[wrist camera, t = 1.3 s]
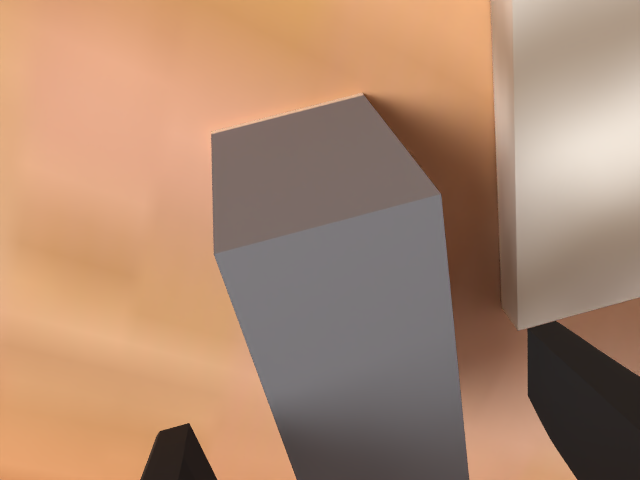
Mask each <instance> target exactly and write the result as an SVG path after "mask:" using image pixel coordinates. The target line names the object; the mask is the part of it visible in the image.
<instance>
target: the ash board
mask: <svg viewBox="0 0 640 480" xmlns="http://www.w3.org/2000/svg"><path fill="white" fill-rule="evenodd" d="M490 1H491V29H492V56H493V83H494V111H495V138H496V165H497V193H498V220H499V247H500V275H501V302H502V309H503V310H504V312H505V313H506V315H507V316H508V318H509V319H510V320H511V322H512V323H513V325H514V326H515V327H516V329H517V330H518V331H519V330H523V329H526V328H530V327H534V326H537V325H541V324H545V323H548V322H552V321H555V320H559V319H563V318H566V317H570V316H574V315H577V314H581V313H585V312H588V311H592V310H595V309H599V308H603V307H606V306H610V305H614V304H617V303H621V302H624V301H628V300H632V299H635V298H639V297H640V0H490Z"/></svg>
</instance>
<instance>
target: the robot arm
mask: <svg viewBox="0 0 640 480" xmlns="http://www.w3.org/2000/svg"><path fill="white" fill-rule="evenodd" d="M528 397H529V399H530V401H531V403H532V405H533V407H534V409H535V411H536V413H537V415H538V417H539V419H540V421H541V422H542V424H543V426H544V428H545V430H546V432H547V434H548V436H549V437H550V439H551V441H552V442H553V444H554V445H555V447H556V449H557V450H558V452H559V453H560V455H561V456H562V458H563V459H564V461H565V462H566V463H567V465H568V466H569V468H570V469H571V471H572V472H573V474H574V475H575V477H576V478H577V480H640V377H639V376H638V375H636V374H635V373H633V372H631V371H630V370H628V369H627V368H625V367H624V366H622V365H621V364H619V363H618V362H616V361H615V360H613V359H612V358H610V357H609V356H607V355H606V354H604V353H603V352H601V351H600V350H598V349H597V348H595V347H594V346H592V345H591V344H589V343H588V342H586V341H585V340H583V339H582V338H581V337H579V336H578V335H576V334H575V333H573V332H572V331H570V330H569V329H567V328H566V327H564V326H563V325H561V324H560V323H558V322H557V321H553V322H550V323H546V324H543V325H539V326H535V327H532V328H528ZM140 480H217V478H216V476H215V474H214V472H213V470H212V468H211V466H210V464H209V462H208V460H207V458H206V456H205V454H204V452H203V450H202V448H201V446H200V444H199V442H198V440H197V438H196V436H195V434H194V432H193V430H192V428H191V426H190V424H189V423H188V424H184V425H180V426H177V427H173V428H170V429H166V430H163V431H160V432H159V433H158V435H157V436H156V439H155V442H154V445H153V447H152V450H151V453H150V456H149V458H148V461H147V464H146V466H145V469H144V472H143V474H142V477H141V479H140Z"/></svg>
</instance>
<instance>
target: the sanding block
mask: <svg viewBox="0 0 640 480" xmlns="http://www.w3.org/2000/svg"><path fill="white" fill-rule="evenodd" d="M211 143H212V191H213V238H214V256H215V259H216V261H217V264H218V267H219V270H220V272H221V275H222V278H223V280H224V283H225V286H226V289H227V291H228V294H229V297H230V299H231V302H232V305H233V308H234V310H235V313H236V316H237V318H238V321H239V324H240V327H241V329H242V332H243V335H244V337H245V340H246V343H247V346H248V348H249V351H250V354H251V357H252V359H253V362H254V365H255V367H256V370H257V373H258V376H259V378H260V381H261V384H262V386H263V389H264V392H265V395H266V397H267V400H268V403H269V405H270V408H271V411H272V414H273V416H274V419H275V422H276V424H277V427H278V430H279V433H280V435H281V438H282V441H283V444H284V446H285V449H286V452H287V454H288V457H289V460H290V463H291V465H292V468H293V471H294V473H295V476H296V479H297V480H469V473H468V463H467V453H466V443H465V432H464V422H463V412H462V402H461V392H460V381H459V371H458V361H457V351H456V341H455V330H454V320H453V310H452V300H451V290H450V279H449V269H448V259H447V249H446V239H445V228H444V218H443V208H442V198H441V193H440V192H439V191H438V189H437V188H436V187H435V185H434V184H433V183H432V182H431V180H430V179H429V178H428V177H427V175H426V174H425V173H424V171H423V170H422V169H421V168H420V166H419V165H418V164H417V162H416V161H415V160H414V159H413V157H412V156H411V155H410V153H409V152H408V151H407V150H406V148H405V147H404V146H403V144H402V143H401V142H400V141H399V139H398V138H397V137H396V135H395V134H394V133H393V132H392V130H391V129H390V128H389V127H388V125H387V124H386V123H385V121H384V120H383V119H382V118H381V116H380V115H379V114H378V112H377V111H376V110H375V109H374V107H373V106H372V105H371V103H370V102H369V101H368V100H367V98H366V97H365V96H364V94H363V93H359V94H355V95H352V96H348V97H344V98H340V99H336V100H332V101H328V102H324V103H320V104H317V105H313V106H309V107H305V108H301V109H297V110H293V111H289V112H285V113H281V114H278V115H274V116H270V117H266V118H262V119H258V120H254V121H250V122H246V123H243V124H239V125H235V126H231V127H227V128H223V129H219V130H215V131H211Z"/></svg>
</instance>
